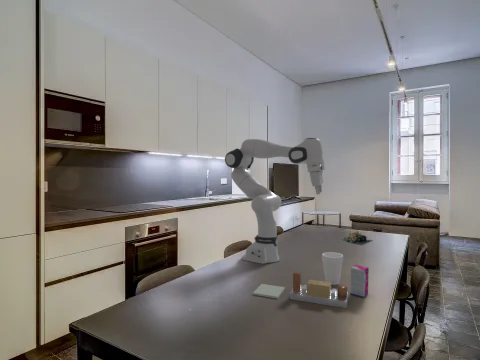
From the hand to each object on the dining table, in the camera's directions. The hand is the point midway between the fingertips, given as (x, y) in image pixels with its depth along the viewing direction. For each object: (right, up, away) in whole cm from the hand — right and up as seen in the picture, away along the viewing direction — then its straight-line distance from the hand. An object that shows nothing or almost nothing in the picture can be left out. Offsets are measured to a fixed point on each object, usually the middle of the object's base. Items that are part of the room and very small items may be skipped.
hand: (319, 193), depth 159 cm
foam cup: (+1, -41, -19) cm, 45 cm away
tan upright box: (-10, -39, -37) cm, 55 cm away
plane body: (-10, -41, -37) cm, 57 cm away
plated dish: (+46, -40, +69) cm, 92 cm away
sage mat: (-30, -42, -30) cm, 59 cm away
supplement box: (+8, -41, -33) cm, 54 cm away
